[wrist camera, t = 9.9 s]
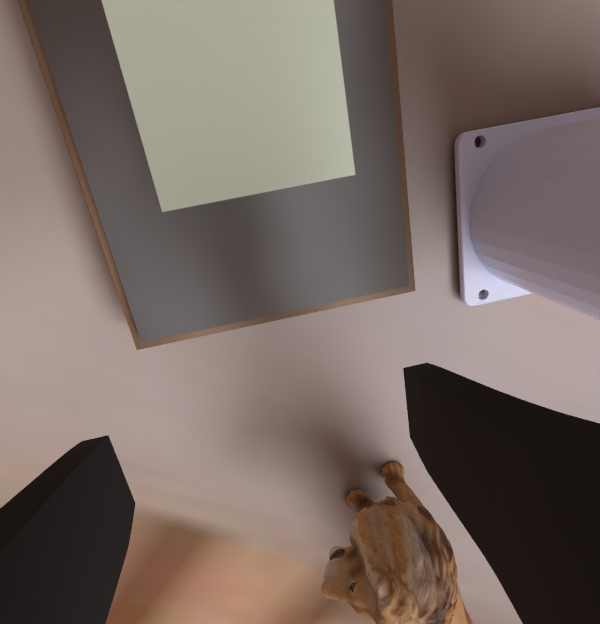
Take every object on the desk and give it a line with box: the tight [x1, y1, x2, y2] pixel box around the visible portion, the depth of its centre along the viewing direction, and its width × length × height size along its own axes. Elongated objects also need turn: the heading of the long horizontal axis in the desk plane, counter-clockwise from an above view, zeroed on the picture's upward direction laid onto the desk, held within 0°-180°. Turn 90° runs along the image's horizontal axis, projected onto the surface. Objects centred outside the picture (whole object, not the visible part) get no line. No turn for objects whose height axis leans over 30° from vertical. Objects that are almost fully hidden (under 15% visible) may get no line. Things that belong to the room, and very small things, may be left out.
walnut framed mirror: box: [18, 0, 415, 350], centre depth 15 cm, size 12×16×2 cm
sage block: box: [101, 0, 355, 212], centre depth 12 cm, size 5×5×5 cm
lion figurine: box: [322, 462, 473, 624], centre depth 20 cm, size 15×5×9 cm, turn 33°
